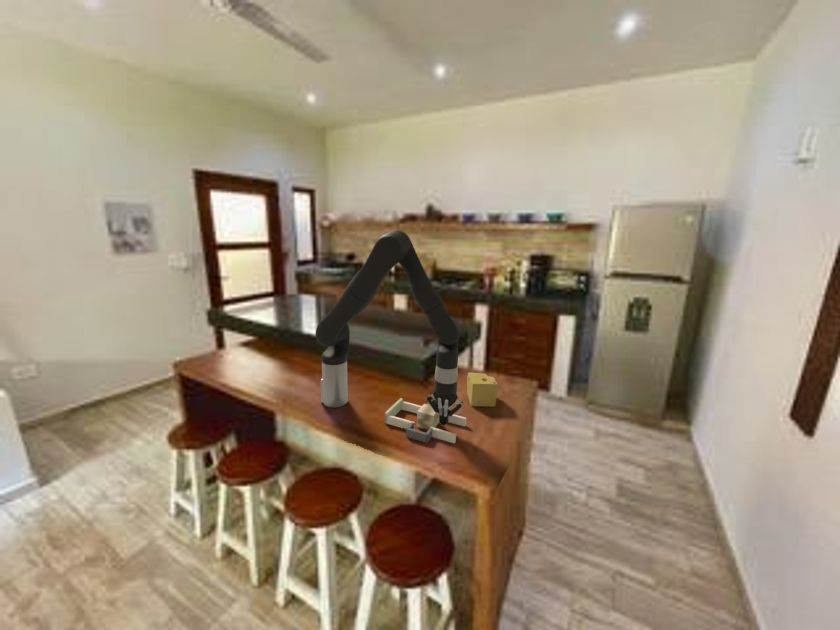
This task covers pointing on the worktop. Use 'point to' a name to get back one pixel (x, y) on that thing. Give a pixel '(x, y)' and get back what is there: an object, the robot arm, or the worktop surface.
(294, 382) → the worktop surface
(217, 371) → the worktop surface
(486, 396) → the cheese
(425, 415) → the birch block
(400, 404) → the trap box
